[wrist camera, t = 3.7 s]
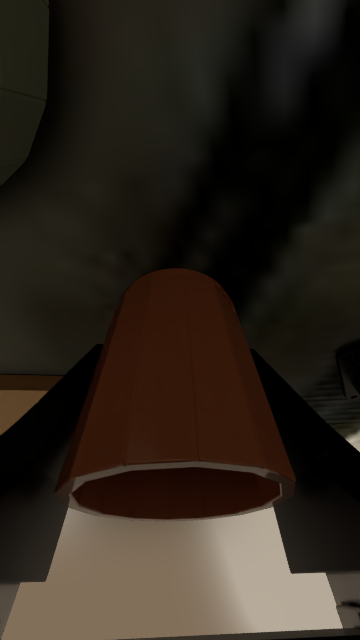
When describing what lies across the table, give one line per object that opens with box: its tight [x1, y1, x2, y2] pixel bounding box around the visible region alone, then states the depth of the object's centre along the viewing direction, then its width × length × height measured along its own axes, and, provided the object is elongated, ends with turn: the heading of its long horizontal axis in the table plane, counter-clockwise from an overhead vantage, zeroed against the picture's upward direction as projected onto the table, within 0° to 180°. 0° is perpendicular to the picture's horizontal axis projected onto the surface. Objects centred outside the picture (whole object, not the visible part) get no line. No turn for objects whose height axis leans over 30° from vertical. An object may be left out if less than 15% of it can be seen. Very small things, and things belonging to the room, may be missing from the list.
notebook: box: [0, 375, 63, 435], centre depth 19 cm, size 12×18×1 cm
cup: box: [54, 268, 296, 521], centre depth 9 cm, size 6×6×8 cm
